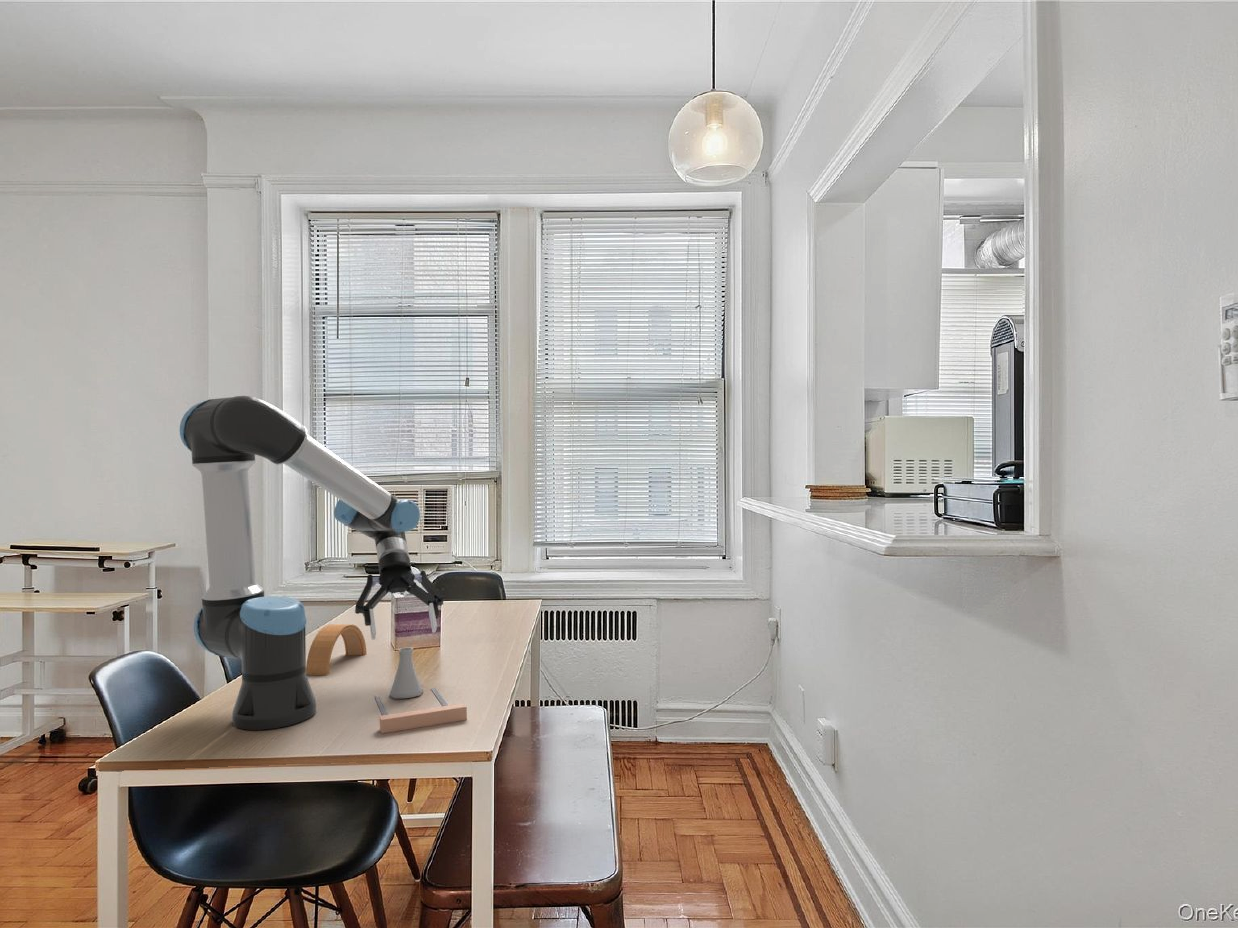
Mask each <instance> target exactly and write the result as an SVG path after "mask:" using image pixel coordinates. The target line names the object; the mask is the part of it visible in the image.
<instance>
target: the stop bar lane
mask: <svg viewBox="0 0 1238 928" xmlns="http://www.w3.org/2000/svg"><path fill="white" fill-rule="evenodd" d="M430 690H431V691H432V693H433V694H434V696H435V697H436V699H437V700H438V701H439V703H440V704H441V705H442V706H437V707H429V708H423V709H418V710H411V711H405V712H397V713H392V714H388V711H387V709H386V707H385V705H384V703H383V701H382V699H381V696H379V695H377V696H374V699H375V701H376V703H377V706H378V708H379V710H380V712H381V715H379V731H380V733H381V734H386V733H392V732H399V731H405V730H412V729H416V728H417V729H418V728H423V727H429V726H430V727H431V726H436V725H442V724H448V723H453V722H460V721H466V720H468V719H467V718H468V717H467V715H468V712H467V709H468V708H467V705H466V704H465V703H457V704H448V703H447V702H446V701H445V699H444V698H443V696H442V695H441V694H440V692H439V691H438V690H437V688H436V687H435V688H430Z"/></svg>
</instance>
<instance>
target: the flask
mask: <svg viewBox="0 0 1238 928" xmlns="http://www.w3.org/2000/svg"><path fill="white" fill-rule="evenodd" d="M413 651H414V648H413V647H412V646H411V647H409V646H408V647H402V648H399V649H398V650H397V652H398V654H399V658H398V659H399V662H398V667H397V670H396V674H395V678H394V681H393V683H392V686H391V688H390V692H389V695H388V696H389V697H391V698H392V699H395V700H396V699H397V700H398V699H409V698H410V699H411V698H414V697H419V696H422V694H423V693H424V688H423V687H422V684H421V681H420V680H419V679H420V678H419V677H418V673H417V672H416V669H415V666H414V660H413Z"/></svg>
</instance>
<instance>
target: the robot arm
mask: <svg viewBox="0 0 1238 928" xmlns="http://www.w3.org/2000/svg"><path fill="white" fill-rule="evenodd" d="M179 436H180V439H181V442H182V444H183V445H184V446H185V447H186V448H187V449H188V450H189V451H190V452H191V464H192V466H193V467H194V468H195V469H197V470H198V471H199V472H200V474H201V483H202V484H201V485H202V497H203V499H202V500H203V511H204V513H203V514H204V526H205V527H204V528H205V540H206V555H207V568H208V569H207V570H208V571H207V572H208V581H209V582H208V584H209V587H208V589H207V590H206V591H205V592H204V593H203V595H201V604H202V606H201V607H200V609H199V611H198V613H196V615H195V618H194V621H193V634H194V637H195V640H196V642H197V643H198V644H199V646H200V647H201V648H202V649H204V650H206V652H207V651H208V652H209V653H211V654H214V656H218V657H222V658H231V659H235V660H240V661H241V686H240V687H239V692H238V693H237V694H238V695H237V698H236V700H235V704H234V706H233V710H232V715H231V716H232V719H231V720H232V722H231V723H232V725H233V727H234V728H236V729H241V730H247V731H248V730H249V731H259V730H260V731H262V730H263V731H264V730H272V729H278V728H284V727H288V726H292V725H295V724H298V723H301V722H304V721H307V720H309V719H310V718H312V717H313V716H314V715H315V714H317V713H316V712H317V703H316V702H317V701H316V698H315V695H314V692H313V690H312V686H311V684H310V682H309V679H308V676H307V674H306V665H307V659H306V658H307V651H306V650H307V647H306V646H307V645H306V644H307V643H306V641H307V640H306V635H307V634H306V624H307V618H306V611H305V606H304V604H303V603H302V602H301V601H300V600H298V599H295V598H292V597H288V596H275V595H274V596H272V595H270V596H265V588H264V587H262V586H261V585H260V584H259V583H257V580H256V572H255V570H256V568H255V555H254V540H253V528H252V525H253V523H252V512H251V511H252V510H251V499H250V498H251V496H250V482H249V470H250V468H251V467H252V466H253V465H254V464H255V463H256V456H258V457H262V458H264V459H266V460H268V461H270V462H271V463H273V464H275V465H277V466H278V465H283V464H284V465H285V466H287V467H289V468H290V469H292V470H293V471H295V472H297V473H298V474H299V475H301V476H303V477H304V478H305V479H308V480H309V481H310V482H311V483H314V484H315V485H316V486H318V487H320V488H321V489H323V491H324V490H325V491H326V492H327V493H329V494H331V495H332V496H333V497H335V498H337V499H338V500H337V502H336V504H335V506H334V508H333V509H334V510H333V516H334V518H335V520H336V521H338V522H339V523H341V524H343V525H344V526H345V527H349V528H351V529H353V530H355V531H357V532H359V533H361V534H363V535H364V536H366V537H369V538H371V539H373V540H374V543H375V549H376V556H377V565H378V571H379V573H378V574H379V576H373V574H368V575H367V577H366V584H365V586H364V588H363V589H362V592H361V594H360V595H359V597H358V600H357V602H356V604H355V610H354V614H356V615H357V614H358V615H359V614H362V616H363V618H364V619H363V621H364V626H365V627H368V626H369V627H370V637H371V640H372V641H373V640H376V635H377V631H376V630H377V629H376V621H375V615H374V609H375V608H376V606H377V605H378V604H379V602H380V601H381V600H382V599H383V598H384V597H386V595H387V594H388V593H390V594H397V593H401V594H404V593H405V592H407V593H409V594H410V595H413V596H414V597H416V598H417V599H418V600H420V601H422V602H423V603H424V604H425V605H427V606H428V610H427V611H428V616H429V621H430V628H431V632H432V634H433V633H436V632H437V629H438V624H437V619H439V616H440V611H439V606H440V607H442V606H443V605H444V601H445V596H444V595H443V594H442V592H440V591H439V590H438V588H437V586H435V585H434V584H433V582H432V581H431V580H430V579H429V578H428V575H427V573H426V571H425V570H421V571H420V573H413V571H412V565H411V560H410V554H409V549H408V548H409V546H408V543H407V537H406V532H411V531H413V530H414V529H415V528H417V526H418V525H419V524H418V523H419V521H420V519H421V513H420V508H419V506H418V504H416V502H414V501H412V500H410V499H405V498H402V499H400V498H398V497H396V496H395V495H393V494H392V493H391V492H389V491H388V490H386V489H385V488H383V487H382V486H380V485H379V484H378V483H376V482H375V481H374V480H373V479H370V477H368V476H367V475H365V474H363V472H361V471H359V470H358V469H357V468H356V467H354V466H352V465H351V464H350V463H348V462H347V461H346V460H344V459H343V458H342V457H340V456H338V455H337V454H335V453H334V452H332V450H330V449H329V448H327V447H325V446H324V445H323V444H322V443H320V442H318V441H317V440H316V439H314V438H313V437H312V436H310V435H309V434H308V429H307V428H306V426H305V425H303V424H302V423H300V422H299V421H298V420H297V419H295V418H294V417H292V416H290V415H289V414H287V413H286V412H284V411H283V410H281V409H280V408H278V407H276V406H275V405H273V404H271V403H269V402H268V401H265V400H263V399H261V398H258V397H254V396H250V395H238V396H237V395H236V396H233V397H232V396H231V397H221V398H209V399H206V400H204V401H201V402H198V403H196V404H194V405H192V406H191V407H189V409H188V410H187V411H185V413H184V414H183V416H182V418H181V421H180V424H179ZM415 581H417V582H418V584H420V585H421V586H422V587H420V586H419V585H417V583H416V582H415ZM377 584H378V585H380V588H378V590H377V591H376V592H375V594H374V595H373V596H372V597H371V598H370V599H369V600H368V601H367V599H368V597H369V596H370V593H371V592H372V588H374V587H375V586H376V585H377ZM366 602H367V603H366Z"/></svg>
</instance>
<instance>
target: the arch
mask: <svg viewBox="0 0 1238 928" xmlns="http://www.w3.org/2000/svg"><path fill="white" fill-rule="evenodd" d="M340 636H341V638H342V640H343V643H344V648H345V650H344V651H345V655H347V656H365V655H367V645H366V644H367V643H366V641H365V636H364V634H363V632H362V630H361V629H360V628H359V627H358V626H357V625H355V624H327V625H324V626H323V627H322V628H321V629H319V631H318V632H317V634H316V635H315V636H314V638H313V640H312V643H311V645H310V647H309V650H308V655H307V657H306V658H307V659H306V675H313V676H315V675H321V676H322V675H324V676H328V675H330V666H331V658H332V653H333V650H334V648H335V645H336V643H337V641H338V639H339V638H340Z"/></svg>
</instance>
